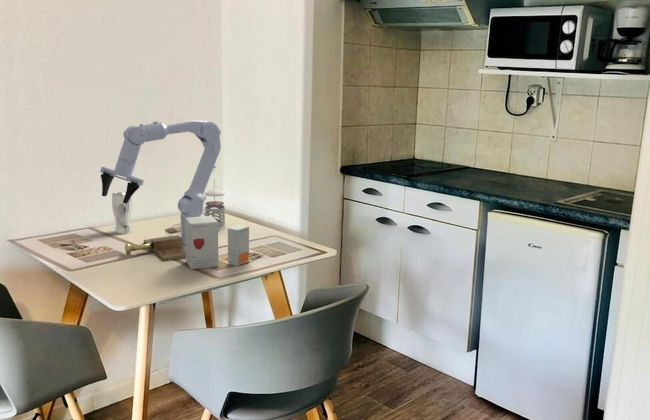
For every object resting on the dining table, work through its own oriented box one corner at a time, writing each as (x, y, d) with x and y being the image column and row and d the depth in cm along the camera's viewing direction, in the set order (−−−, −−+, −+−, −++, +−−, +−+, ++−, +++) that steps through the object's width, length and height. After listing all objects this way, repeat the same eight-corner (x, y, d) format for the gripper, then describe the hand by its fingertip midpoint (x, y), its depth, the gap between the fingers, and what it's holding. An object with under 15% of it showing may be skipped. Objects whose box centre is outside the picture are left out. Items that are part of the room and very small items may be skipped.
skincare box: (237, 266, 190) (237, 230, 187) (227, 263, 192) (227, 228, 189) (249, 261, 195) (249, 226, 192) (239, 259, 197) (239, 224, 194)
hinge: (170, 239, 218) (169, 228, 217) (191, 256, 198) (191, 245, 197) (143, 242, 213) (143, 231, 212) (163, 260, 193) (162, 249, 193)
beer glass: (136, 231, 228) (134, 193, 224) (122, 235, 222) (119, 196, 219) (124, 228, 231) (122, 190, 228) (109, 232, 226) (107, 193, 222)
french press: (225, 230, 232) (224, 167, 226) (195, 229, 232) (193, 166, 227) (229, 224, 242) (228, 163, 236) (201, 223, 242) (199, 162, 236)
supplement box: (190, 270, 185) (189, 223, 182) (185, 261, 193) (183, 217, 190) (219, 267, 189) (218, 221, 185) (212, 258, 197) (211, 215, 193)
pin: (156, 248, 206) (155, 238, 205) (159, 251, 203) (158, 241, 202) (125, 252, 200) (124, 242, 200) (128, 255, 197) (127, 245, 197)
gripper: (101, 153, 195) (88, 192, 195) (142, 166, 194) (129, 206, 194) (110, 155, 202) (98, 193, 202) (150, 168, 201) (138, 206, 201)
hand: (114, 199), depth 199 cm, fingers open, 7 cm apart
